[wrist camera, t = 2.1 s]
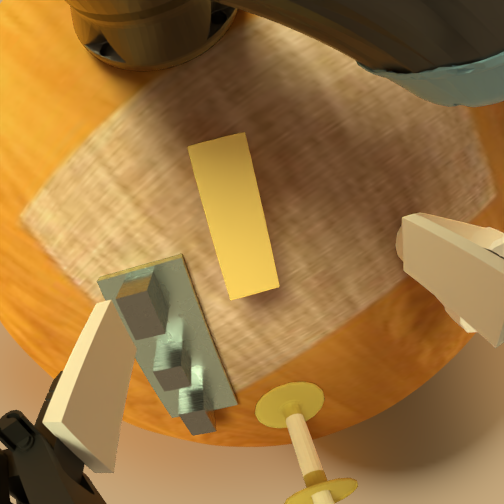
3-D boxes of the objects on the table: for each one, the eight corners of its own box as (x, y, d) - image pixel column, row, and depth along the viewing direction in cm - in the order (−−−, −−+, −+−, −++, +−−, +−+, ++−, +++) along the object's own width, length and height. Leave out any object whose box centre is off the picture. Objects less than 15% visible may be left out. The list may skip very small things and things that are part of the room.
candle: (246, 425, 39) (295, 632, 9) (267, 379, 36) (346, 630, 6) (308, 426, 42) (377, 606, 12) (335, 382, 39) (438, 585, 9)
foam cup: (401, 289, 35) (467, 349, 23) (370, 235, 31) (449, 289, 19) (451, 241, 34) (524, 284, 22) (428, 183, 30) (515, 214, 18)
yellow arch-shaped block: (190, 145, 26) (186, 146, 20) (235, 133, 26) (244, 132, 20) (224, 267, 30) (230, 300, 24) (264, 256, 30) (279, 286, 24)
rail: (99, 277, 28) (84, 301, 24) (182, 253, 29) (178, 276, 24) (172, 412, 36) (171, 440, 32) (236, 399, 37) (241, 428, 32)
